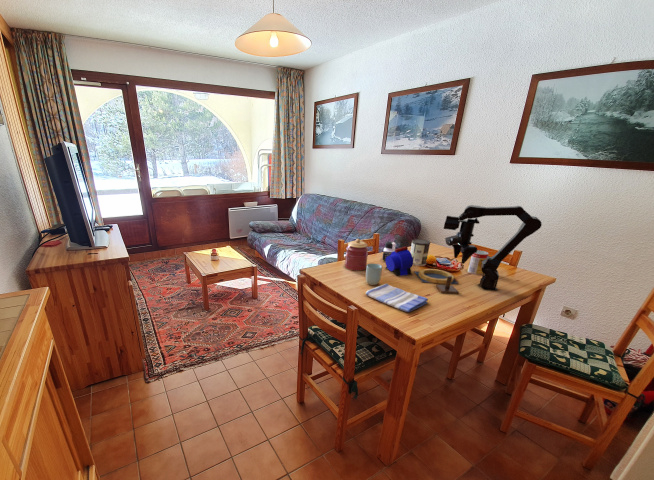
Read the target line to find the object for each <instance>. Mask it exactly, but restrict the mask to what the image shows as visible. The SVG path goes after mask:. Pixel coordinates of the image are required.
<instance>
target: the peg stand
mask: <svg viewBox="0 0 654 480" xmlns="http://www.w3.org/2000/svg"><path fill="white" fill-rule="evenodd" d="M451 280H452V276H448V277H447V281H446V284H435V288H436V290H438V291H439V292H440V294H448V295H459V290H458V289H457V288H456V287H455V286H454V285H453V284H451Z"/></svg>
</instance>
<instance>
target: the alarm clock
mask: <svg viewBox="0 0 654 480" xmlns="http://www.w3.org/2000/svg"><path fill="white" fill-rule="evenodd" d="M410 251H411V250H409V248H408V246H406V245H405V246H402V247H398V248H395V251H393V252H392V253H391V255H390V256H387V257H386V262H385V266H386V267H385V269H386V270H388V271H390V272H393V273H394V274H395V275H396V277H401V276H402V277H403V276H411V275H413V273H412V267H413V266H414V265H413V257H412V255H411V253H410Z"/></svg>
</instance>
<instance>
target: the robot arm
mask: <svg viewBox="0 0 654 480" xmlns="http://www.w3.org/2000/svg"><path fill="white" fill-rule="evenodd" d="M492 216H493V217H494V216H495V217H496V216H497V217H498V216H499V217H501V216H516V217H517V218H518V219H519V220H520V221H521V222H522V223H521V224H520V226H519V228H518V229H517V232H515V233H514V235H512V237H510V239H508V241H507V242H505V244H503V246H502V247H500V248H499V249H498V251H497V252H496V253H495V254H494V255H492V256H489V255H488V256H487V258H486V259H485V260H484V261H482V265H481V268H482V272H483V274H482V276H481V278H480V280H479V283H478V286H479V287H480V288H481V289H482V290H484V291H498V288H497V286H498V282H499V279H500V275H499V271H498V268H499V266H500V265H501V263H502V262H503V261H504V260H505V259H506V258H507V257H508V256H509V255H510V254H511V253H512V251H514V250H515V248H517V247H518V246H519V244H521V243H522V241H524V240H525V239H526V238H527V237H529V236H531V235H533V234H535V233H536V232H537V231H538V230H540V229H541V228H542V221H541V220H540V219H539V217H538V216H532V215H531V214H530V213H528V212H527V211H526V210H525V209H524V208H523V207H522V206H521V205H515V206H481V205H474V204H470V205H467V206H466V207H464V210H463V212H462V213H461V214H459V216H454V215H453V216H452V215H446V217H445V221H444V225H443V230H449V231H450V230H452V231H456V230H458V229H459V231H457V232H456V234H455V235H450V236H447V237H445V238H444V240H445V245H447V246H448V247H452V250H453V258H454V259H457V258H458V257H459V255H460V253H461V264H462V265H464V264H465V263H467V261H468V260H470V258H471V256H472V255H473V254H475V253H477V250H478V248H477V246H476V245H474V244H472V243H473V242H471V241H472V237H474V236H475V235H474V234H473V232H474V229H475V224H477V225H479V224H480V220H479V219H478V218H482V217H492Z"/></svg>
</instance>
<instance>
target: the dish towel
mask: <svg viewBox="0 0 654 480" xmlns="http://www.w3.org/2000/svg"><path fill="white" fill-rule="evenodd" d="M365 296H367V297H369V298H371V299H374V300H376V301H378V302H380V303H382V304H385V305H388V306H390V307H392V308H395V309H398V310H400V311H402V312H405V313H411V312H412V311H415V310H417V309H419V308H422V307H423V306H425V305H427V304H428V303H429V302H428V300H429V299H428V298H427V297H425V296H422V295H419V294H416V293H413V292H409V291H406V290H403V289H402V288H399V287H395V286H393V285H390V284H389V283H384V284H381V285H379V286H378V285H377V286H376V287H373V288H370V289H368V290H367V291H365Z"/></svg>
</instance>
